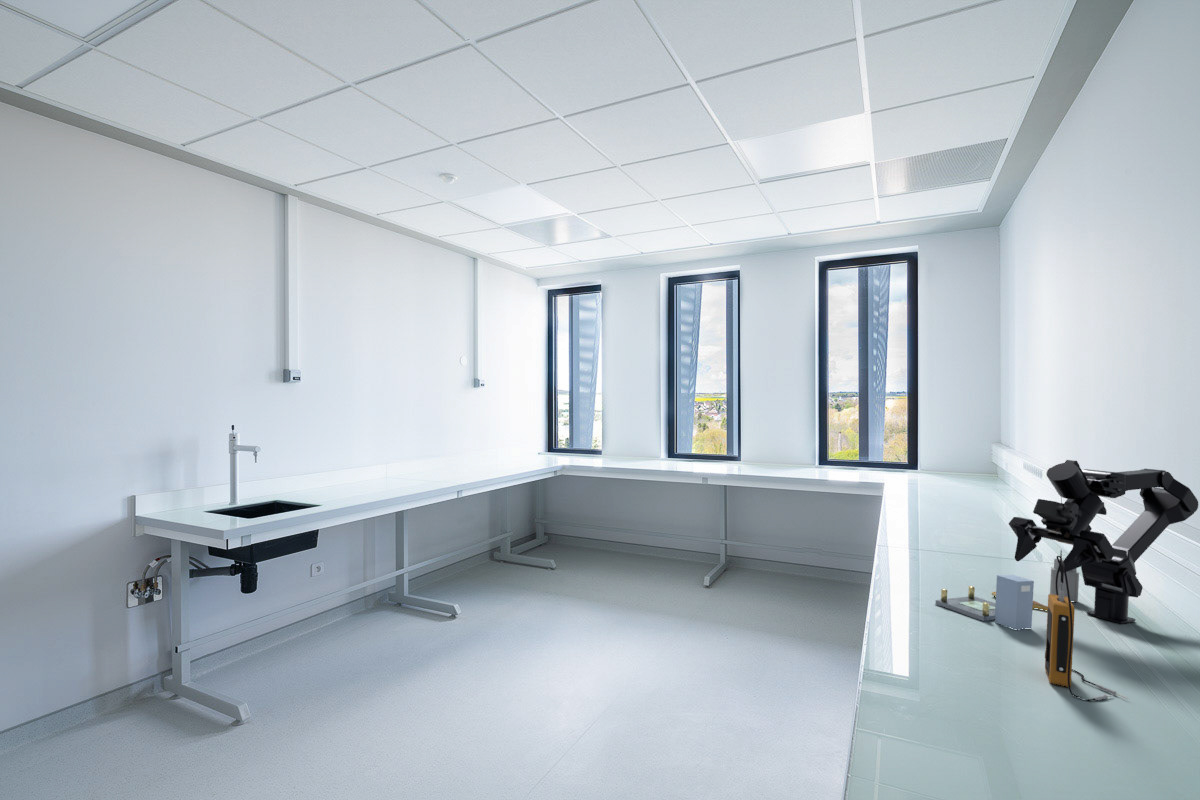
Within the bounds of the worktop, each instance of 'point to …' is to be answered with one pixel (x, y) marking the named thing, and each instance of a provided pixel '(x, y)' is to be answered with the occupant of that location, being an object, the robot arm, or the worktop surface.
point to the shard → (1035, 604)
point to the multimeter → (1062, 638)
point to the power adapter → (1072, 581)
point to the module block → (1014, 601)
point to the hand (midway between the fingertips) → (1037, 565)
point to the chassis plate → (969, 605)
